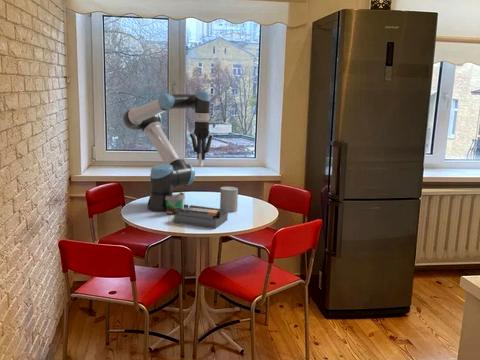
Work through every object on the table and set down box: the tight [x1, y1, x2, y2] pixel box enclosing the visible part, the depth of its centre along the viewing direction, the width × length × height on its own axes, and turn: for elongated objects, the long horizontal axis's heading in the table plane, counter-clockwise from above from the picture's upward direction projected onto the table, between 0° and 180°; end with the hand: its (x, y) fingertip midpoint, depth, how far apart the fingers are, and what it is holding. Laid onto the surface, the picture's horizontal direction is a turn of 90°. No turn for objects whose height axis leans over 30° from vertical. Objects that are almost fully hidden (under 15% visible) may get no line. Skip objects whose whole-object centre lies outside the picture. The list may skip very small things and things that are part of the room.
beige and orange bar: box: [182, 206, 219, 216], centre depth 236 cm, size 18×5×2 cm, turn 71°
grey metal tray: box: [173, 204, 229, 230], centre depth 236 cm, size 22×16×7 cm
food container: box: [165, 191, 186, 216], centre depth 248 cm, size 12×6×10 cm, turn 148°
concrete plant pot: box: [219, 186, 239, 214], centre depth 258 cm, size 10×10×12 cm
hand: (200, 165), depth 252 cm, fingers closed
